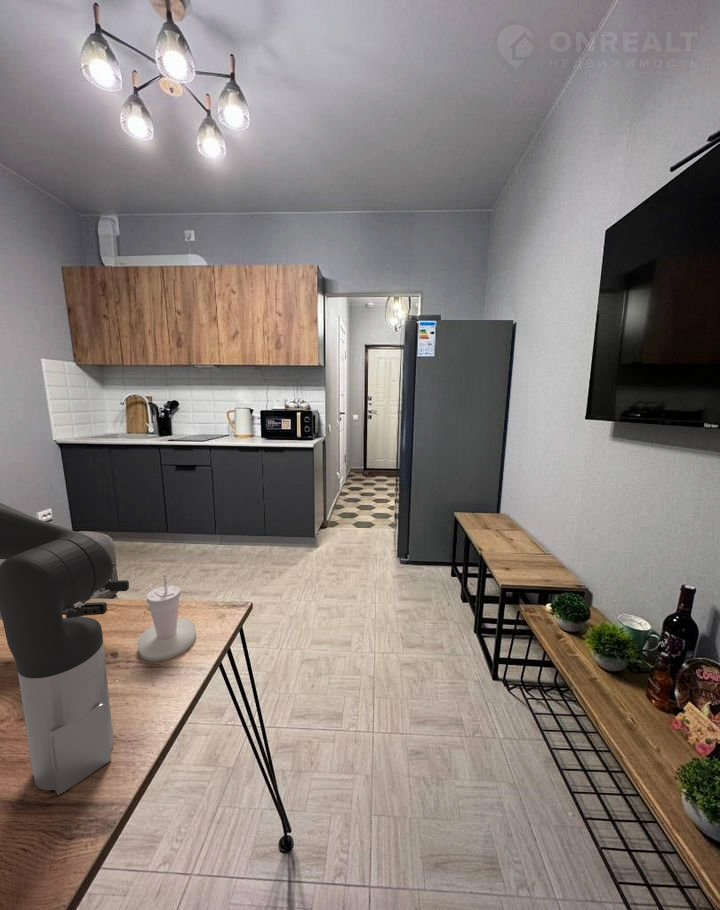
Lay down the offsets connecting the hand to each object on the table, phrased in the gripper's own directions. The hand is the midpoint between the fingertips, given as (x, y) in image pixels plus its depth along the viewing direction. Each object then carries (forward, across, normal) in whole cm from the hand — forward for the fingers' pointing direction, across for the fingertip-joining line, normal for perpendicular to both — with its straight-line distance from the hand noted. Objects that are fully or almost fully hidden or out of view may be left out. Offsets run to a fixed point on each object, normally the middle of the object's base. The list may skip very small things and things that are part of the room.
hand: (117, 596), depth 74 cm
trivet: (+9, 0, +12) cm, 15 cm away
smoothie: (+9, 0, +10) cm, 13 cm away
